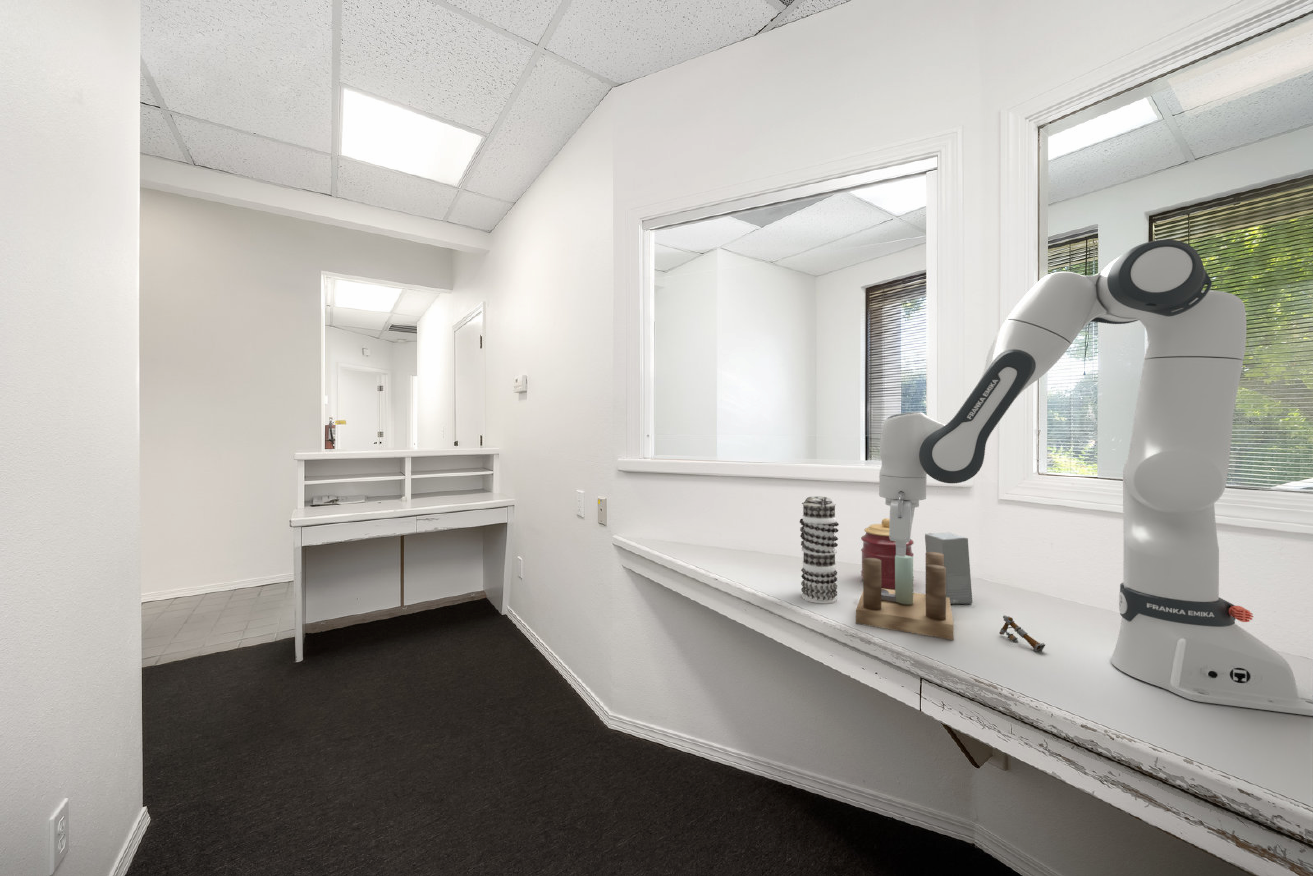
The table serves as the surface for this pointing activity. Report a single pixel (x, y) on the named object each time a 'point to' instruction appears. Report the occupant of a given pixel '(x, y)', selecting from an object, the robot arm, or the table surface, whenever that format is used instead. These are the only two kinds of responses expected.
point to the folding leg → (902, 581)
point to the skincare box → (953, 564)
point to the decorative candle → (819, 550)
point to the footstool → (920, 617)
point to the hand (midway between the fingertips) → (900, 554)
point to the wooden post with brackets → (1021, 632)
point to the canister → (882, 551)
